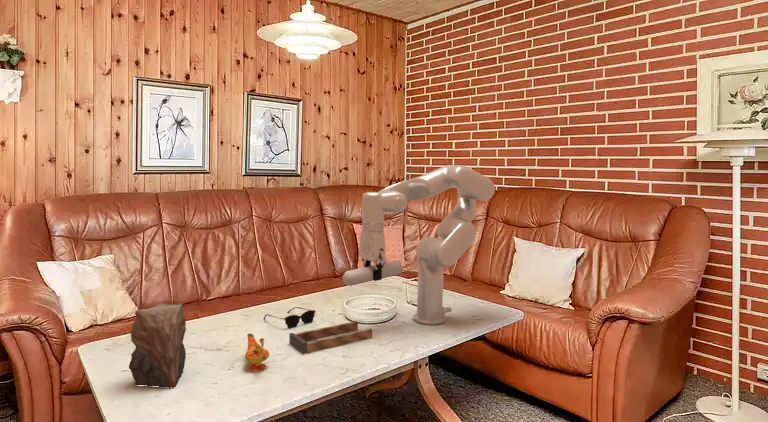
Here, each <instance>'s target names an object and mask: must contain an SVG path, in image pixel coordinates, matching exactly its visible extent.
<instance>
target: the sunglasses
mask: <svg viewBox="0 0 768 422" xmlns="http://www.w3.org/2000/svg"><path fill="white" fill-rule="evenodd" d="M294 309H300V310H301V309H302V310H305V311H304V312H303V313H302V314H301V315H298V314H291V315H288V316H285V317H278V316H275V315H271V314H268V313H267V314H265V315H264V317H263V320H265V319H266V317H272V318H276V319H280V320H283V321H285V325H286V327H287V329H289V330H290V329H294V328H297V326H298V324H300V320H301V322H302V323H303V324H304V325H307V324H312V323H313V322H314V318H315V314H316V310H315V309H307V308H303V307H298V306H295V307H293V308H291V309H289V310H288V311H287V312H286V314H289V313H291V312H292V311H293V310H294Z"/></svg>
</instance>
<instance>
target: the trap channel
mask: <svg viewBox="0 0 768 422" xmlns="http://www.w3.org/2000/svg"><path fill="white" fill-rule="evenodd" d="M370 339H373V329H372V328H366V329H362V330H359V321H356V320H354V321H349V322H345V323H340V324H335V325H330V326H326V327H321V328H316V329H312V330H306V331H302V332H297V333H294V332H291V333H289V341H288V343H289V345H291V346H292V347H293V348H295V349H296V350H297V351H299V352H300V353H302V355H306V354H309V353H314V352H319V351H323V350H326V349H327V350H328V349H331V348H337V347H340V346H344V345H349V344H353V343H357V342H362V341H366V340H370Z"/></svg>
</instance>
